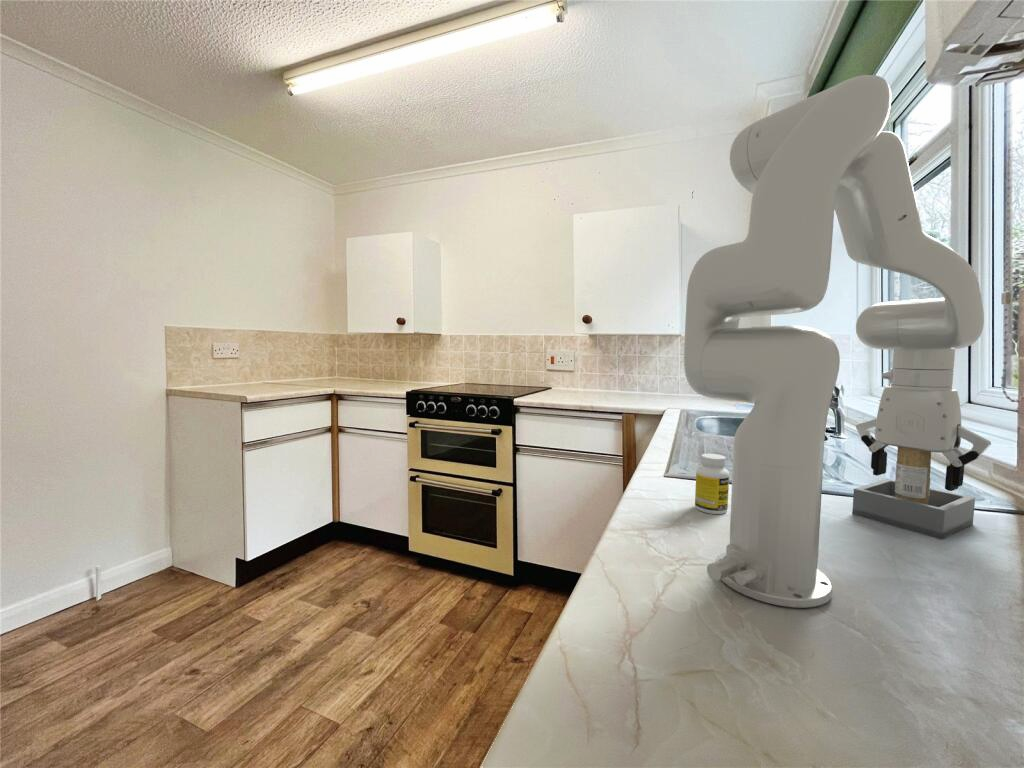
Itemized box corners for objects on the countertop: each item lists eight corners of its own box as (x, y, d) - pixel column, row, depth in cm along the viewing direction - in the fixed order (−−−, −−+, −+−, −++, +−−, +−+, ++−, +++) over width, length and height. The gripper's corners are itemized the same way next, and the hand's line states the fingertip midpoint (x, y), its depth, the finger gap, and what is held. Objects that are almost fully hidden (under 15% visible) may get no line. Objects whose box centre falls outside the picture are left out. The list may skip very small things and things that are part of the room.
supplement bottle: (721, 517, 78) (724, 461, 77) (690, 509, 81) (691, 456, 80) (731, 509, 82) (734, 455, 81) (701, 502, 85) (703, 450, 84)
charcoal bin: (942, 539, 69) (944, 510, 68) (852, 513, 79) (853, 488, 79) (972, 524, 74) (975, 497, 74) (885, 502, 85) (886, 478, 85)
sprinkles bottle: (932, 514, 76) (938, 435, 75) (922, 520, 74) (928, 438, 72) (898, 506, 80) (903, 430, 79) (887, 511, 77) (892, 434, 76)
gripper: (849, 377, 80) (844, 472, 82) (985, 384, 65) (975, 500, 67) (870, 376, 84) (864, 466, 86) (1004, 382, 69) (994, 492, 70)
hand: (913, 481), depth 76 cm, fingers open, 9 cm apart
